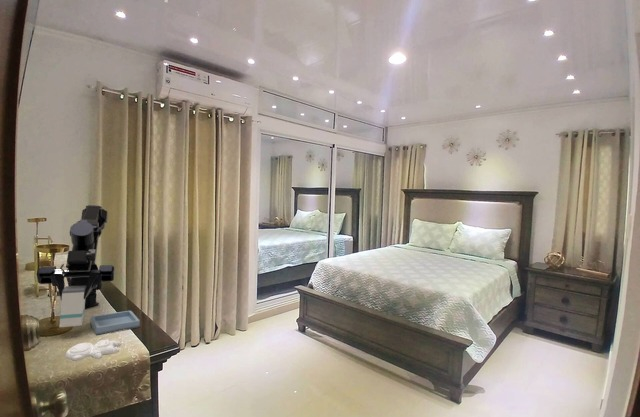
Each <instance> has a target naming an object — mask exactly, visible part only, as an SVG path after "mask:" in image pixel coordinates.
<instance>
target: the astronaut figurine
mask: <svg viewBox="0 0 640 417" xmlns="http://www.w3.org/2000/svg"><path fill="white" fill-rule="evenodd" d="M120 345H121V346H122V342H121V341H119V340H115V339H113V340H111V339H110V338H106V339H101V340H99V341H97V342H95V344H93V343H91V342H80V343H77V344H74V345H73V346H71V347H70V348H69V349H68V350H67V351H66V353H65V358H66V359H67V360H71V361H80V360H83V359H85V358H88V357H91V358H94V359H101V358H102V356H104V355H112V354H116V352H117V353H119V352H120V348H119V347H121V346H120ZM116 346H119V347H116ZM118 351H119V352H118Z"/></svg>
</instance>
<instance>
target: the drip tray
mask: <svg viewBox="0 0 640 417" xmlns="http://www.w3.org/2000/svg"><path fill="white" fill-rule="evenodd" d="M89 318H90V321H89V324H90V325H91V328H92V330H93V331H94V333H95V335H96V336H100V335H106V334H110V333H109V332H111V333H115V332H114V331H117V332H120V331H119V330H122V331H124V330H123V329H127V330H131V329H137V328H140V323H141V321H140V319H139V318H138V317H137V315H135V313H134V312H133V311H132V310H125V311H118V312H111V313H104V314H99V315H98V314H97V315H91V316H90V317H89ZM105 333H106V334H105Z"/></svg>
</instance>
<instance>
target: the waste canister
mask: <svg viewBox="0 0 640 417" xmlns="http://www.w3.org/2000/svg"><path fill="white" fill-rule="evenodd" d="M85 289H86V286H68V285H67V286H66V285H65V287H64V289H63V291H62V300H60V301H61V306H60V314H59V325H58V326H59V328H68V327H69V328H70V327H77V326H82V324H83V322H84V320H85V319H84V318H85V312H86V311H85V310H86V309H85V299H84V292H85Z"/></svg>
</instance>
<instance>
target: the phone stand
mask: <svg viewBox="0 0 640 417" xmlns="http://www.w3.org/2000/svg"><path fill="white" fill-rule="evenodd" d="M64 267H65V263H62V264H61V265H60V268H59V269H62V270H64V269H63V268H64ZM65 278H66V282H67V286H71V278H72V277H65ZM56 291H57V290H56ZM47 297H51V296H49V293H48V294H47ZM56 297H60V293H59V290H58V291H57V296H56Z"/></svg>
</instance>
